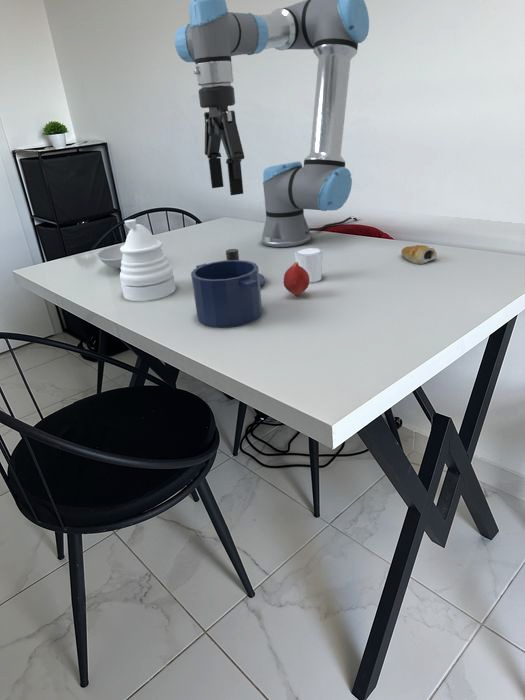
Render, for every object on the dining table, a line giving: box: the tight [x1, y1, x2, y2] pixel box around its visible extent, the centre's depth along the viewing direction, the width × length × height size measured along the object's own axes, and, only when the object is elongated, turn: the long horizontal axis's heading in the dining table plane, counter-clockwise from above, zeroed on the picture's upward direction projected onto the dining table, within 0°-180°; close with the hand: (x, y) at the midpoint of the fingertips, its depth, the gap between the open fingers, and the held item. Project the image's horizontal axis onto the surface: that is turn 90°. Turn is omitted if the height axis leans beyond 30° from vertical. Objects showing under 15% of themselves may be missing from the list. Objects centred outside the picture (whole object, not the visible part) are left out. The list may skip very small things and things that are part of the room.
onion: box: [283, 261, 310, 297], centre depth 114 cm, size 6×6×8 cm
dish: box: [95, 243, 125, 269], centre depth 147 cm, size 18×14×5 cm
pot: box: [190, 259, 263, 329], centre depth 107 cm, size 14×19×10 cm
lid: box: [225, 248, 266, 286], centre depth 125 cm, size 15×15×9 cm
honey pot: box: [119, 219, 177, 302], centre depth 123 cm, size 13×13×18 cm
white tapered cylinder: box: [294, 247, 324, 283], centre depth 124 cm, size 7×7×7 cm
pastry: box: [400, 244, 437, 265], centre depth 133 cm, size 9×7×4 cm
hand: (226, 190), depth 116 cm, fingers open, 13 cm apart
